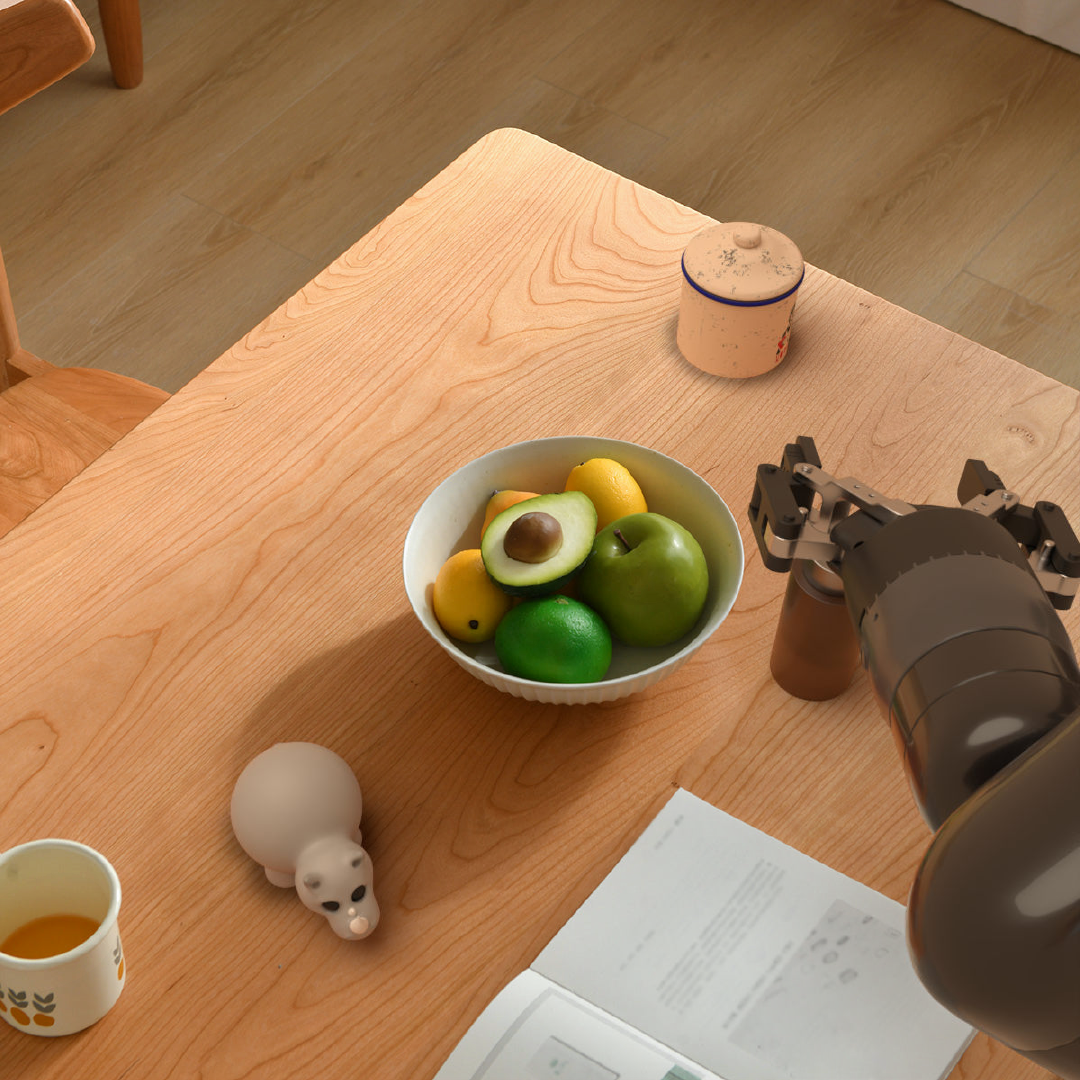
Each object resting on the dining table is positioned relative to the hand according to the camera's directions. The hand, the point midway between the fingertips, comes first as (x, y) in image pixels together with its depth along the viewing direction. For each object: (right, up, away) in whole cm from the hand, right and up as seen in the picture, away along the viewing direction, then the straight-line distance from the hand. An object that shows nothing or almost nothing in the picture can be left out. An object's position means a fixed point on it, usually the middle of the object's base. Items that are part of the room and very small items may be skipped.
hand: (883, 464), depth 67 cm
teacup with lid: (-2, +12, +40) cm, 42 cm away
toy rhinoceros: (-29, -24, +10) cm, 39 cm away
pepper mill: (0, -13, +19) cm, 23 cm away
